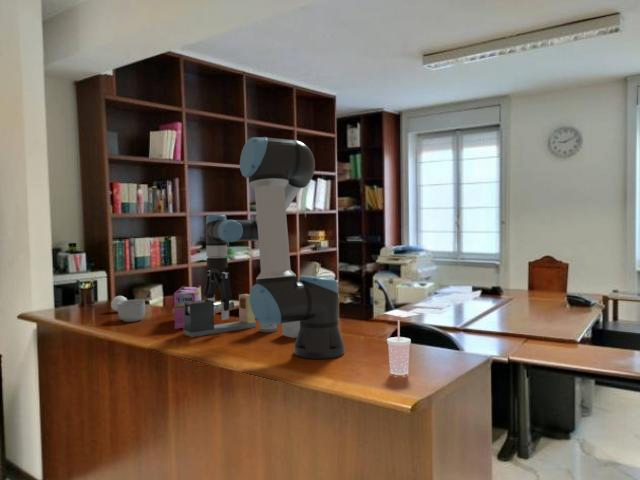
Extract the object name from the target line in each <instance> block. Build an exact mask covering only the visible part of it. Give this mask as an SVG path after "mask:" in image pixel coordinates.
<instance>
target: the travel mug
mask: <svg viewBox="0 0 640 480" xmlns="http://www.w3.org/2000/svg"><path fill="white" fill-rule="evenodd" d="M277 329H278V325H274V324H272V325H264V324H262V323H260V322H259V331H260V332H261V333H267V334H269V333H274V332H276V331H278V330H277Z"/></svg>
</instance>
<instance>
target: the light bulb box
mask: <svg viewBox="0 0 640 480" xmlns="http://www.w3.org/2000/svg"><path fill="white" fill-rule="evenodd" d="M281 325H282V326H281V327H282V329H281V330H282V336H284V337H288V338H291V339H292V338H293V339H295V338H296V339H297V336H298V333H299V329H300V321H296V322H289V323H281Z"/></svg>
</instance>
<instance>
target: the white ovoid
mask: <svg viewBox="0 0 640 480" xmlns="http://www.w3.org/2000/svg"><path fill="white" fill-rule="evenodd" d="M124 300H125V301H126V300H128V298H127V297H125V296H123V295H117V296H114V298H112V300H111V301H110V302H111V303H110V305H111V309H112V310H114V311H115V312H116V313H118V306H117V303H118V302H121V301H124Z"/></svg>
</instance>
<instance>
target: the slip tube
mask: <svg viewBox="0 0 640 480" xmlns="http://www.w3.org/2000/svg"><path fill="white" fill-rule="evenodd" d="M234 308H235V302H234V301H233V300H230V301H229V310H233V309H234ZM214 311H215V312H217V311H221V301H217V302H216V301H215V303H214ZM187 313H188V314H190V308H189V306H187Z"/></svg>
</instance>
